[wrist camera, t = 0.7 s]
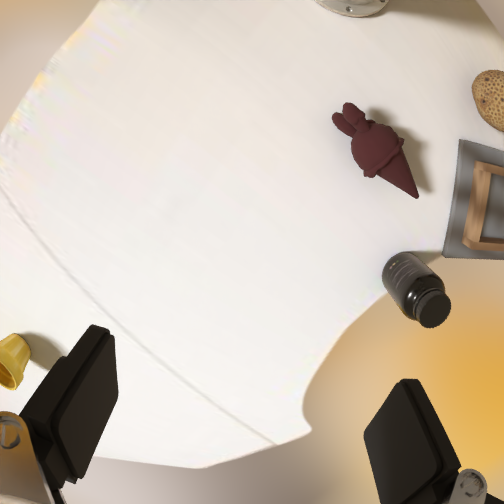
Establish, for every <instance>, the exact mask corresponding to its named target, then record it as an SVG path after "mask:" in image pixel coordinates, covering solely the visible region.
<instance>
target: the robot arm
mask: <svg viewBox="0 0 504 504" xmlns="http://www.w3.org/2000/svg"><path fill="white" fill-rule="evenodd" d="M315 1H316V2H317V3H319V4H320V5H322V6H323V7H325V8H327V9H329V10H331V11H332V12H335V13H338V14H341V15H346V16H352V17H363V16H369V15H372V14H375V13H376V12H378V11H380V10H381V9H382V8H383V7H384V6H385V5H386V4H387V3H388V1H389V0H315ZM347 10H349V11H347ZM117 399H118V382H117V370H116V355H115V338H114V336H113V335H111V334H110V331H109V329H106V328H103V327H100V326H97V325H93V324H92V325H90V326H89V328H88V329H87V330H86V332H85V333H84V334H83V336H82V337H81V338H80V339H79V341H78V342H77V343H76V345H75V346H74V348H73V349H72V350H71V352H70V353H69V354H68V356H67V357H65V356H62V357H60V358H59V359H58V360H57V362H56V363H55V364H54V366H53V367H52V368H51V370H50V371H49V373H48V374H47V375H46V377H45V378H44V379H43V381H42V382H41V384H40V385H39V386H38V388H37V389H36V391H35V392H34V394H33V395H32V397H31V398H30V399H29V401H28V402H27V404H26V405H25V407H24V408H23V410H22V411H21V413H20V414H19V416H18V415H16V414H15V413H12V412H8V411H1V412H0V504H67V503H66V501H65V499H64V496H63V494H62V491H61V488H63V485H64V483H65V481H68V482H71V483H73V484H76V481H77V479H78V478H80V479H82V478H83V477H84V475H85V473H86V471H87V468H88V466H89V463H90V461H91V458H92V456H93V454H94V452H95V449H96V447H97V445H98V442H99V440H100V438H101V435H102V433H103V431H104V429H105V426H106V424H107V422H108V420H109V417H110V415H111V413H112V411H113V408H114V406H115V404H116V402H117ZM364 441H365V445H366V449H367V452H368V456H369V459H370V464H371V467H372V471H373V475H374V479H375V483H376V487H377V490H378V495H379V499H380V503H381V504H504V501H502V500H500V499H498V498H496V497H494V496H492V495H490V494H488V493H487V483H486V480H485V478H484V477H483V475H482V474H481V473H480V472H478V471H476V470H474V469H465V470H463V471H461V472H460V473H459V472H458V469H459V468H460V467H461V464H460V462H459V459H458V457H457V455H456V453H455V451H454V449H453V446H452V444H451V442H450V440H449V438H448V436H447V434H446V432H445V430H444V428H443V426H442V424H441V422H440V420H439V418H438V416H437V414H436V412H435V410H434V408H433V406H432V404H431V402H430V400H429V398H428V396H427V394H426V392H425V390H424V389H423V387H422V385H421V383H420V381H419V380H418V379H402V380H400V382H399V383H396V385H395V386H394V388H393V389H392V391H391V392H390V394H389V395H388V397H387V399H386V400H385V402H384V403H383V405H382V406H381V408H380V409H379V411H378V412H377V413H376V415H375V416H374V418H373V419H372V421H371V422H370V424H369V425H368V426H367V428H366V429H365V431H364Z"/></svg>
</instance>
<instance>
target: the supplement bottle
mask: <svg viewBox="0 0 504 504" xmlns="http://www.w3.org/2000/svg"><path fill="white" fill-rule="evenodd" d="M382 281H383V285H384V287H385V288H386V290H387V291H388V293H389V294H390V295H391V297H392V298H393V299H394V301H395V302H396V304H397V305H398V306H399V308H400V309H401V311H402V312H403V314H404V315H405V316H406V317H408V318H409V319H411V320H416V321H418V322H419V323H420V324H421V325H422V326H424V327H426V328H434V327H437V326H439V325H440V324H442V323H443V322H444V321H445V319H447V316H448V315H449V313H450V310H451V302H450V299H449V297H448V296H447V295H446V294H445V287H444V283H443V281H442V280H441V279H440V277H439V276H438V275H436V274H435V273H434V272H433V271H432V270H431V269H430V268H429V267H428V266H427V265H426V264H424V263H423V262H422V261H421V260H420V259H419V258H418V257H416V256H415V255H413V254H411V253H407V252H403V253H399V254H396V255H395V256H393V257H392V258H391V259H389V261H388V262H387V263H386V265H385V267H384V269H383V272H382Z"/></svg>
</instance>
